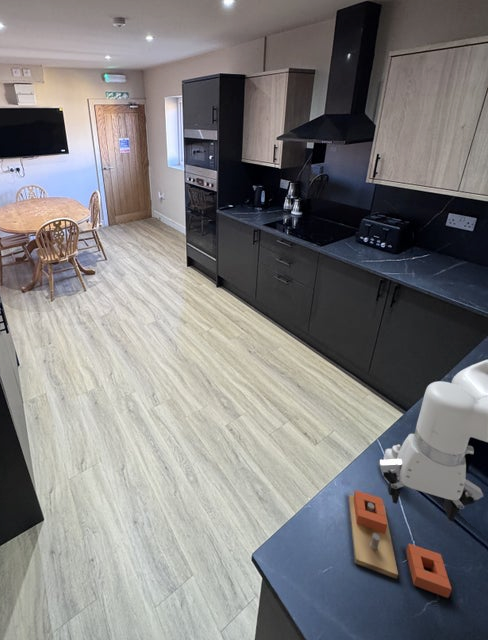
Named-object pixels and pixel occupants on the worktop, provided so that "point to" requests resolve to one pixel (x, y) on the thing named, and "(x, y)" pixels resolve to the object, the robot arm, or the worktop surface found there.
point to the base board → (372, 545)
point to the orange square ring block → (425, 579)
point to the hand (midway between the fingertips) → (420, 504)
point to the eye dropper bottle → (392, 455)
